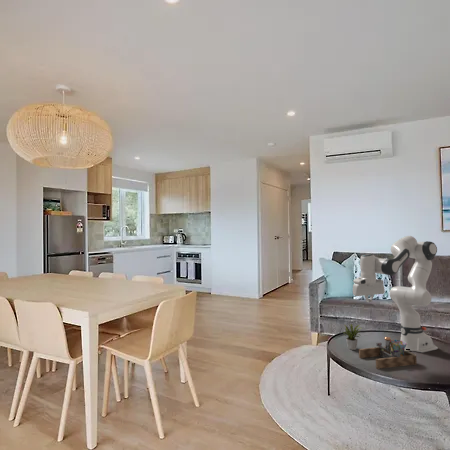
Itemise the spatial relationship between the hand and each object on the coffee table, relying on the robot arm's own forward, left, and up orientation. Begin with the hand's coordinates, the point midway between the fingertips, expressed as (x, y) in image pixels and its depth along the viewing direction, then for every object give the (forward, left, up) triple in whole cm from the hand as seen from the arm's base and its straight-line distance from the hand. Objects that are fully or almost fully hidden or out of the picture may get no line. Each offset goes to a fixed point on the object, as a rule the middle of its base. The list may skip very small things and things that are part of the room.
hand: (369, 302), depth 206 cm
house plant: (+4, -12, -33) cm, 35 cm away
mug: (-9, +11, -32) cm, 35 cm away
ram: (-4, +11, -32) cm, 34 cm away
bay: (-2, +11, -32) cm, 34 cm away
